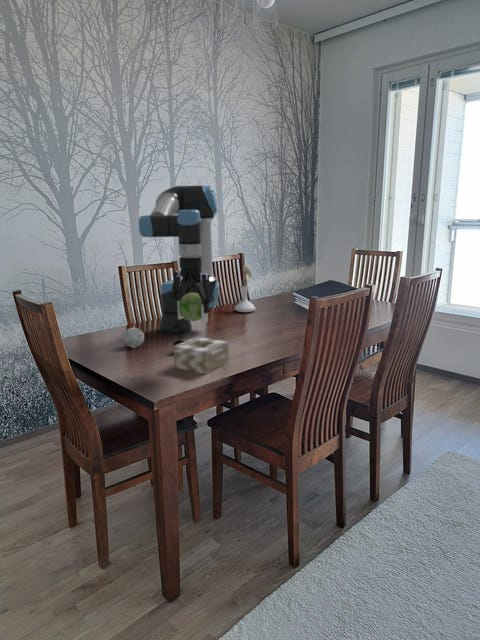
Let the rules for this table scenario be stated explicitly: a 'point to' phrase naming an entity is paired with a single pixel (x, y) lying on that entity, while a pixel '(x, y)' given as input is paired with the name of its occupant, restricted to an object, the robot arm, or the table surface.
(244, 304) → the flower in vase
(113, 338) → the table surface
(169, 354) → the black box
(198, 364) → the display stand
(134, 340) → the grey faceted polyhedron
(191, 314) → the decorative ball
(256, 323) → the table surface
